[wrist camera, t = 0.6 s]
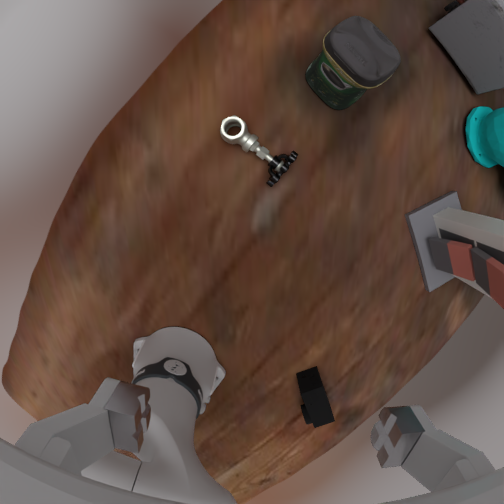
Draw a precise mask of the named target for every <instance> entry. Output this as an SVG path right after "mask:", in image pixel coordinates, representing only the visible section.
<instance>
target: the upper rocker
mask: <svg viewBox="0 0 504 504" xmlns="http://www.w3.org/2000/svg"><path fill="white" fill-rule="evenodd" d="M470 250H471V255H472V261H473V267H474V273H475V279H476V283H477V284H478V285H479V286H480V287H481V288H482V289H483V290H484V291H485V292H486V293H487V294H488V295H490V296H491V297H492V298H493V299H494V300H495V301H496V302H497V303H498V304H499V305H500V306H501V307H502V308H503V309H504V265H503V264H502V263H500V262H499V261H497V260H496V259H494V258H493V257H491V256H490V255H488V254H487V253H485V252H484V251H482V250H481V249H479V248H478V247H474V248H472V249H470Z"/></svg>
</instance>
